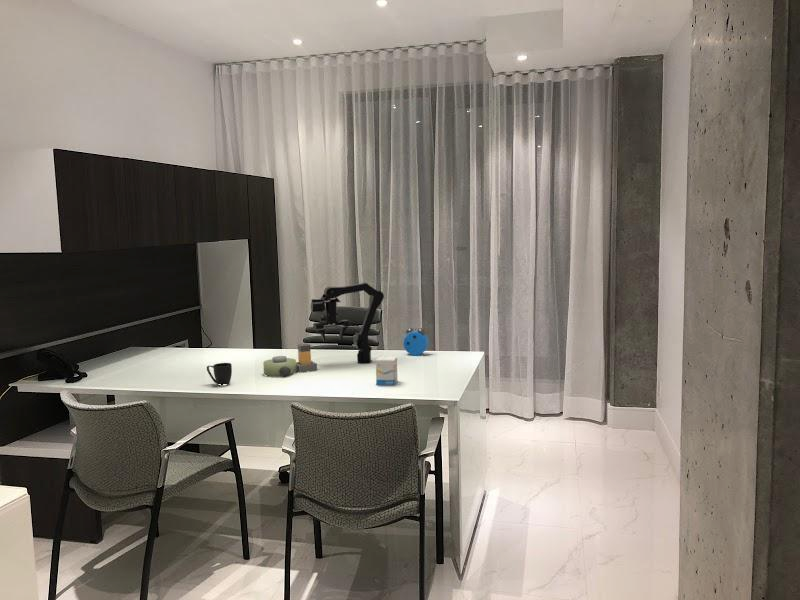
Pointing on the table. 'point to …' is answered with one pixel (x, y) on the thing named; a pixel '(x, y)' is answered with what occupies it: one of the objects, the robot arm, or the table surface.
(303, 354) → the orange bottle
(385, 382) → the ink box
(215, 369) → the mug
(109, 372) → the table surface
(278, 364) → the mower deck
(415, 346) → the alarm clock
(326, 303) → the robot arm
